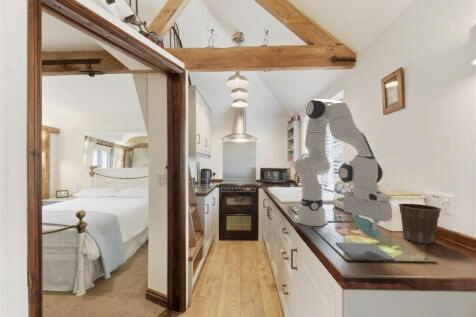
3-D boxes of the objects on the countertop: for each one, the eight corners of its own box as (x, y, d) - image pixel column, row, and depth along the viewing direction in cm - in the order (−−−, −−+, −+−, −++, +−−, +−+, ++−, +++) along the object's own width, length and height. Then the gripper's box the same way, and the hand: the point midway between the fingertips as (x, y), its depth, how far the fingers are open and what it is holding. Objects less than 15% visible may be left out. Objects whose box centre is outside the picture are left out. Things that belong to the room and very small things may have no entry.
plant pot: (393, 232, 122) (393, 202, 122) (430, 236, 117) (431, 204, 117) (404, 243, 107) (405, 208, 107) (448, 248, 102) (449, 211, 102)
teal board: (366, 229, 101) (356, 216, 99) (380, 234, 96) (369, 219, 93) (364, 233, 101) (353, 220, 98) (377, 238, 95) (366, 224, 93)
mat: (335, 243, 105) (335, 242, 105) (372, 244, 104) (372, 243, 104) (351, 259, 89) (351, 257, 89) (395, 260, 88) (395, 259, 88)
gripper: (339, 190, 105) (339, 221, 105) (383, 197, 86) (383, 235, 86) (350, 190, 108) (349, 220, 108) (394, 196, 89) (394, 233, 89)
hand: (365, 227), depth 97 cm, fingers closed on teal board, 6 cm apart
